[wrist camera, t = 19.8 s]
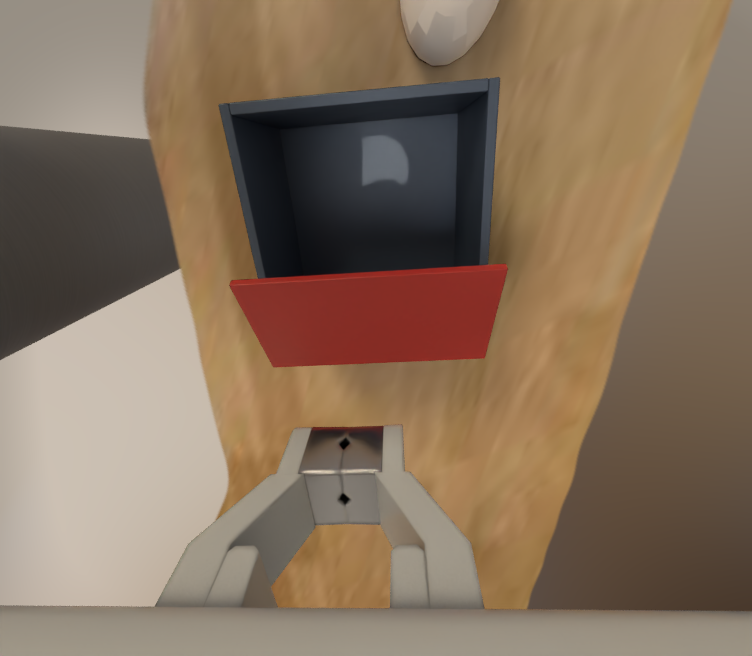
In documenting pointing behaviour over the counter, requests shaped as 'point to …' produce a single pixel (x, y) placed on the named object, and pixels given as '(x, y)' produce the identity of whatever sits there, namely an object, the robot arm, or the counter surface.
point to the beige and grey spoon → (444, 27)
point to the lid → (374, 315)
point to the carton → (366, 177)
